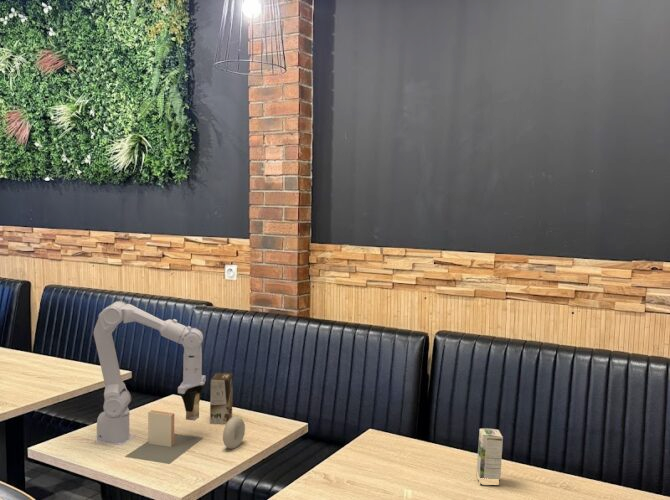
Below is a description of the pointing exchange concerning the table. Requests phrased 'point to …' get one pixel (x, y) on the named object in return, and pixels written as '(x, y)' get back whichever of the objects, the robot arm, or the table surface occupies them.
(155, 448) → the mat
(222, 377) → the coffee box
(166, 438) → the tile
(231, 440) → the grey round disc
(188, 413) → the wooden block
